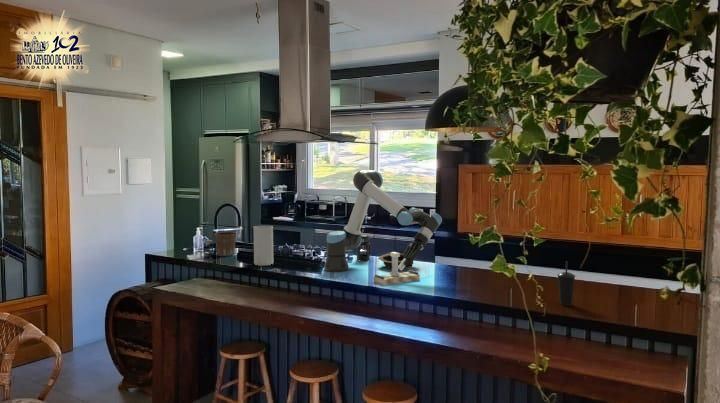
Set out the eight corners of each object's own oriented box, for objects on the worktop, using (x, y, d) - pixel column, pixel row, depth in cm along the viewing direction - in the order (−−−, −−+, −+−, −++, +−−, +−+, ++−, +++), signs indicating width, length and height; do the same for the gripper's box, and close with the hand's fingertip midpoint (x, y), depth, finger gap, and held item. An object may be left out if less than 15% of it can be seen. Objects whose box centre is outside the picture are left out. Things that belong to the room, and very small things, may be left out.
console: (408, 276, 293) (408, 269, 292) (419, 280, 284) (419, 272, 284) (373, 281, 280) (373, 274, 280) (383, 285, 272) (383, 277, 271)
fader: (394, 274, 284) (394, 251, 283) (400, 275, 280) (399, 253, 279) (390, 274, 283) (389, 252, 282) (395, 276, 278) (395, 253, 278)
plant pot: (238, 256, 367) (237, 234, 366) (215, 257, 362) (214, 235, 361) (236, 252, 383) (236, 231, 382) (214, 254, 378) (213, 232, 377)
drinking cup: (553, 302, 234) (554, 259, 233) (569, 302, 235) (570, 259, 233) (561, 307, 226) (562, 262, 225) (578, 306, 227) (579, 262, 226)
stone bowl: (417, 263, 333) (417, 249, 332) (416, 274, 309) (416, 259, 307) (380, 262, 336) (380, 248, 335) (376, 272, 312) (376, 258, 311)
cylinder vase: (251, 265, 330) (250, 227, 328) (257, 262, 342) (257, 225, 341) (270, 266, 328) (269, 227, 327) (275, 262, 341) (275, 225, 339)
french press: (363, 261, 342) (363, 227, 340) (352, 260, 348) (352, 226, 346) (374, 259, 351) (374, 226, 349) (364, 258, 357) (363, 225, 355)
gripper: (434, 242, 285) (410, 275, 277) (419, 239, 296) (396, 271, 288) (426, 233, 282) (402, 266, 274) (412, 231, 293) (388, 263, 285)
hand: (399, 268), depth 281 cm, fingers closed
